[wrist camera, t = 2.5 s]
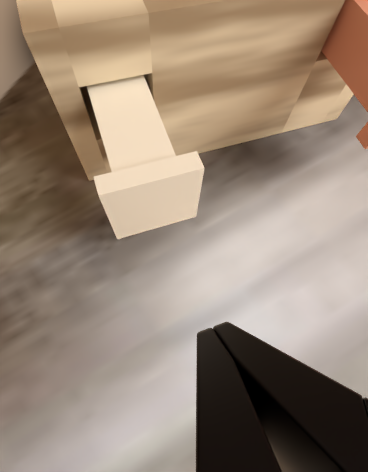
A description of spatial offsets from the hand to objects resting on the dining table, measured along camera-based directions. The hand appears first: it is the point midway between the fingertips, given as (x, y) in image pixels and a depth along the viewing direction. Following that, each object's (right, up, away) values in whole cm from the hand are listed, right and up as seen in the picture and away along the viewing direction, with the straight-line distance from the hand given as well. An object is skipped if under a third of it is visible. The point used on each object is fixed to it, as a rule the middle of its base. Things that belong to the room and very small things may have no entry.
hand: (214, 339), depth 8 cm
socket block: (+1, +15, +19) cm, 24 cm away
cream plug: (-4, +8, +12) cm, 15 cm away
